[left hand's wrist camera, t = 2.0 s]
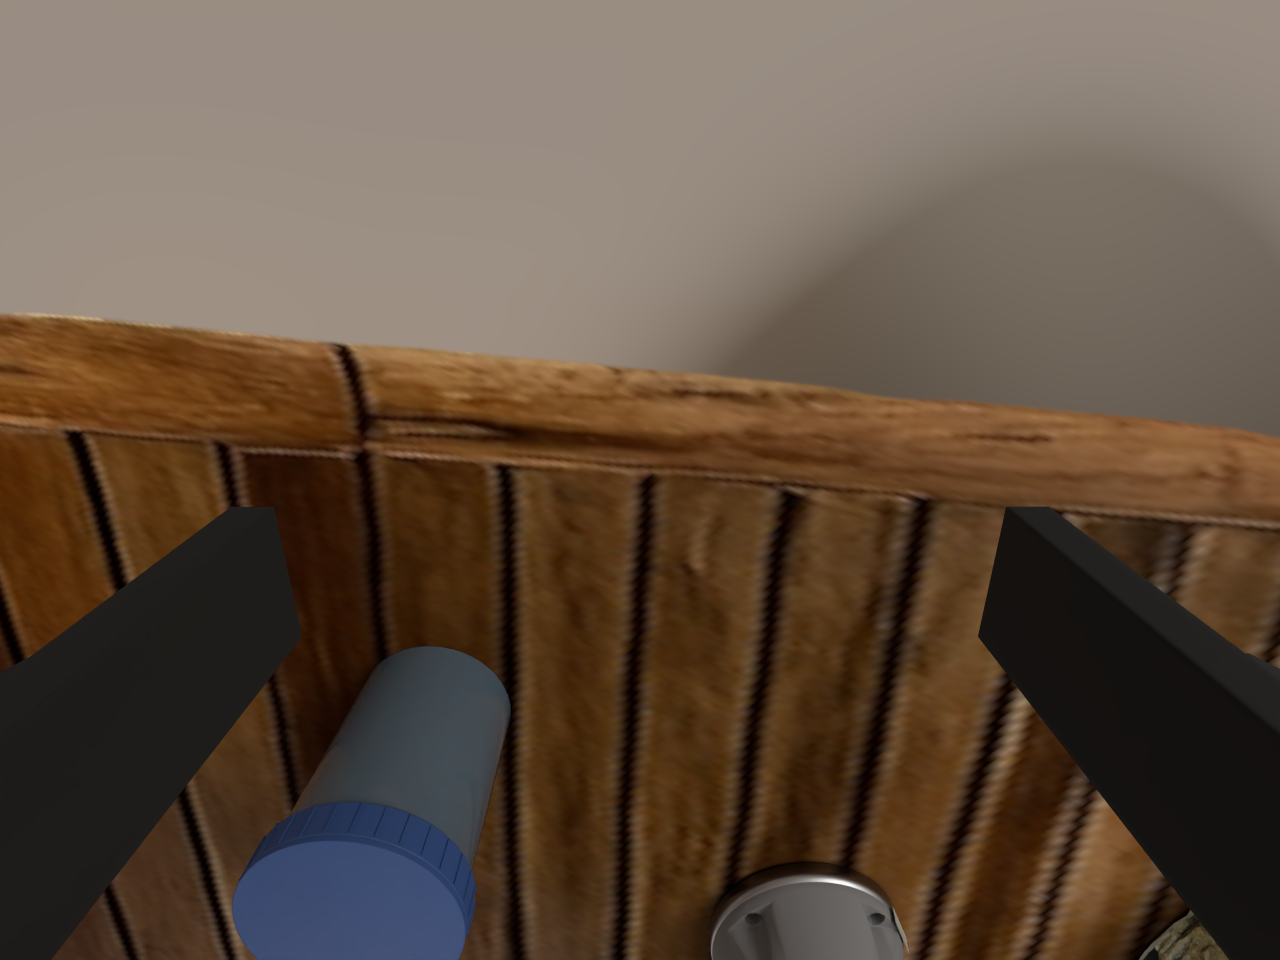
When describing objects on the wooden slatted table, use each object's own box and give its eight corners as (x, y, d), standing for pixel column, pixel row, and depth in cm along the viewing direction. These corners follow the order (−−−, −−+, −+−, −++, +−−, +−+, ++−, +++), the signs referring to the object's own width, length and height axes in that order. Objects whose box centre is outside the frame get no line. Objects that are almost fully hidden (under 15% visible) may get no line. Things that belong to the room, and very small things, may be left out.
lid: (502, 941, 38) (493, 985, 36) (303, 967, 39) (283, 1012, 36) (440, 784, 34) (426, 824, 31) (218, 817, 34) (190, 858, 32)
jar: (526, 752, 50) (481, 971, 36) (390, 773, 51) (293, 995, 37) (488, 634, 46) (421, 826, 32) (342, 658, 47) (212, 857, 33)
